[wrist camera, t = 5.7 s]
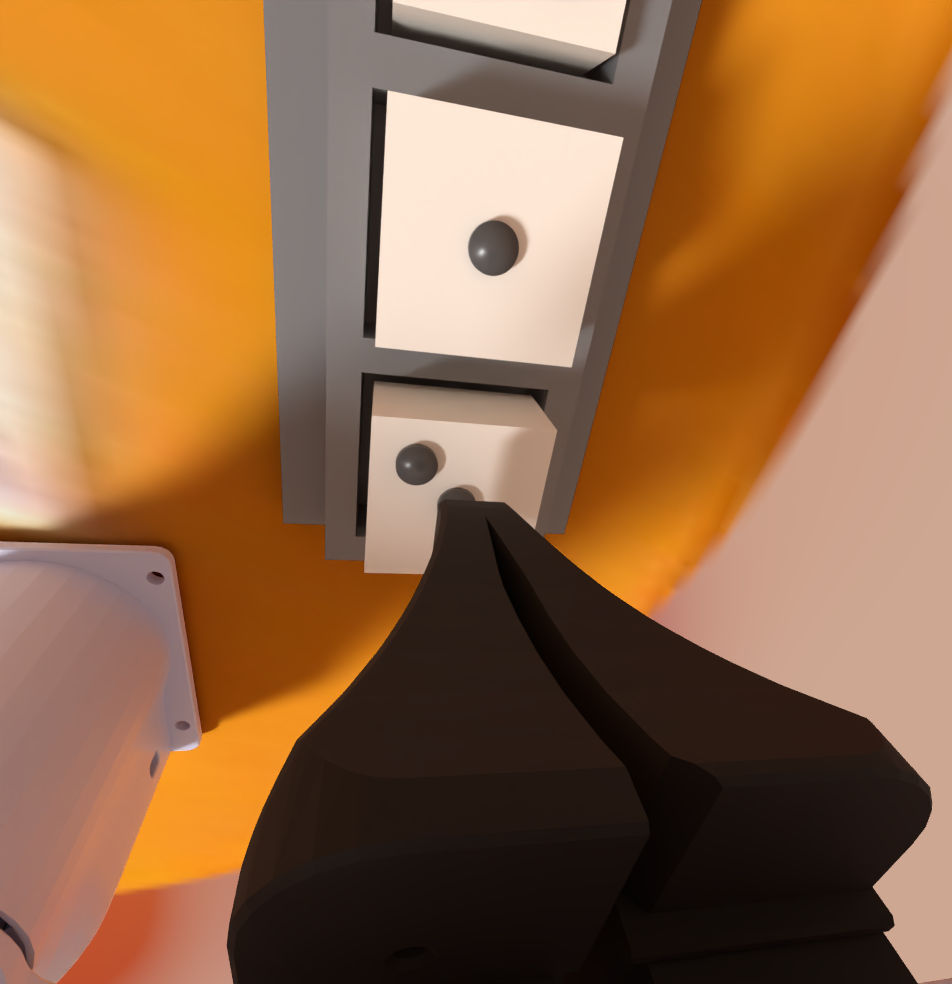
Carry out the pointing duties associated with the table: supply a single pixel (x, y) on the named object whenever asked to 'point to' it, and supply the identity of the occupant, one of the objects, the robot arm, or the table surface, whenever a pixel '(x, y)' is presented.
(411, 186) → the tile one
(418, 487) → the tile three
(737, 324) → the table surface
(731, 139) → the table surface
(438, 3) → the tile two
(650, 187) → the tile board
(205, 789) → the table surface
